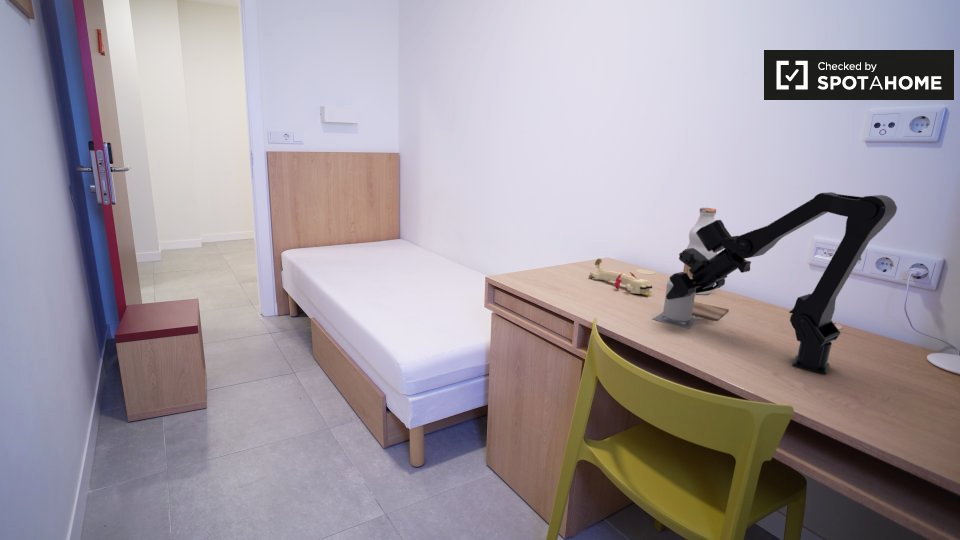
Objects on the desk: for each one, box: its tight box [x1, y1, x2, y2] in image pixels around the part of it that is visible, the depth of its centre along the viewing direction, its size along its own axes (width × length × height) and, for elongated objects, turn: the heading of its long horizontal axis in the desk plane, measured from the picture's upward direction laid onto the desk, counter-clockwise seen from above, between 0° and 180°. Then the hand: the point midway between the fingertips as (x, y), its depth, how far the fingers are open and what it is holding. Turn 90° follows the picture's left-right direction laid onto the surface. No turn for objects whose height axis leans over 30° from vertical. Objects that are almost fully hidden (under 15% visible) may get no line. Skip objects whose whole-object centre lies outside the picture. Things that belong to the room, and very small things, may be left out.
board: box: [692, 301, 729, 322], centre depth 146 cm, size 12×12×1 cm
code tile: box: [652, 311, 701, 329], centre depth 138 cm, size 10×10×1 cm
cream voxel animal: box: [588, 258, 653, 296], centre depth 167 cm, size 10×9×25 cm
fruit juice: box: [682, 207, 718, 295], centre depth 163 cm, size 9×9×28 cm
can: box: [662, 278, 696, 323], centre depth 137 cm, size 8×8×12 cm
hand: (675, 295), depth 138 cm, fingers closed on can, 7 cm apart
